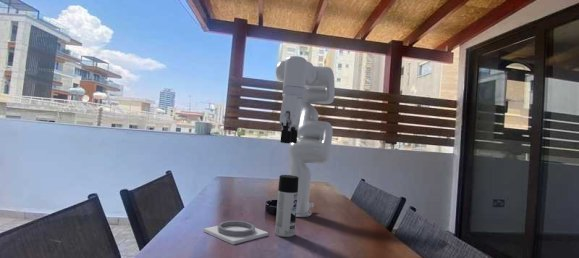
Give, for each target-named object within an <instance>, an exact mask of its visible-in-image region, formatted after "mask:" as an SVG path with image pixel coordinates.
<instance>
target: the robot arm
mask: <svg viewBox="0 0 579 258" xmlns="http://www.w3.org/2000/svg"><path fill="white" fill-rule="evenodd" d="M275 74H276V75H275V76H276V79H277V80H278V81H279V82H283V83H282V92H281V93H282V94H281V95H282V96H281V97H282V102H281V107H280V108H281V109H280V115H279V124H280V125H281V132H280V143H281V144H289V146H288V158H289V159H288V161H289V164H288V165H289V167H288V168H289V169H288V175H292V176H297V177H298V178H299V180H298V195H297V208H296V218H307V217H310V216H311V215H312V211H311V210H310V208H314V206H315V203H313V202H310V193H311V192H310V191H311V179H312V173H311V169H310V167H309V166H308V164H317V165H325V164H327V163H328V162H329V159H330V157H331V149H332V141H333V133H334V132H333V125H332V124H331V123H330V122H328V121H323V120H319V112H318V110H317V109H316V108H315V106H313V105H312V104H321V105H322V104H323V105H329V104H332V103H333V102H334V100H335V96H336V95H335V91H336V90H335V89H336V88H335V87H336V86H335V74H334V71H333V69H332V68H331V67H329V66H316V65H315V66H314V65H313V63H312V62H310V61H307V59H306V58H305V57H302V56H298V55H292V56H287V57H286V59H285V60H281V61H279V62H278V63H277V65H276V69H275Z"/></svg>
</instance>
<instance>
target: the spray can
mask: <svg viewBox="0 0 579 258" xmlns="http://www.w3.org/2000/svg"><path fill="white" fill-rule="evenodd" d="M278 179H279V180H278V188H277V191H278V192H277V203H276V216H275V228H274V229H275V230H274V234H275V235H276V236H277V237H280V238H293V237H294V236H295V230H296V219H297V217H296V208H297V195H298V180H299V178H298V177H297V176H292V175H289V174H281V175H279V178H278Z"/></svg>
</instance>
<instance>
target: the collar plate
mask: <svg viewBox="0 0 579 258" xmlns="http://www.w3.org/2000/svg"><path fill="white" fill-rule="evenodd" d="M203 232H204V233H207V234H208V235H211V236H212V237H215V238H217V239H219V240H222V241H225V242H226V243H228V244H231V245H236V244H241V243H245V242H248V241H251V240H255V239H261V238H264V237H268V236H269V232H267V231H265V230H262V229H260V228H257V227H256V226H255V225H254V224H253V223H250V222H247V221H241V220H226V221H220V222H219V223H218V224H217V225H214V226H211V227H205V228H203Z"/></svg>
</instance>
